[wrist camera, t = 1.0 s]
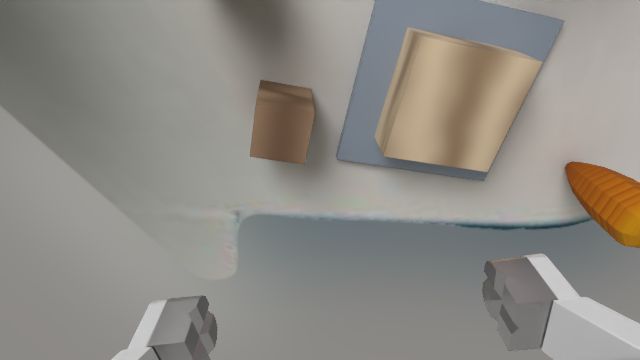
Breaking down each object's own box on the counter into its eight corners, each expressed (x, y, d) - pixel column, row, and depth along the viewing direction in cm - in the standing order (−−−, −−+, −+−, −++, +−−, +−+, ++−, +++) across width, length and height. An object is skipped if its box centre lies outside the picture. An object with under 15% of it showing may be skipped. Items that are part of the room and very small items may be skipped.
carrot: (548, 148, 39) (676, 246, 26) (596, 139, 38) (748, 233, 26) (541, 187, 41) (654, 293, 29) (586, 179, 41) (719, 282, 28)
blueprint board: (335, 155, 37) (336, 159, 37) (381, -23, 29) (383, -22, 28) (480, 176, 40) (483, 180, 39) (558, 19, 32) (564, 20, 31)
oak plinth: (372, 133, 36) (383, 156, 32) (404, 25, 31) (422, 36, 27) (466, 148, 38) (487, 171, 34) (511, 48, 33) (542, 62, 29)
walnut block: (255, 126, 35) (249, 156, 30) (260, 79, 33) (255, 104, 28) (302, 133, 36) (304, 164, 31) (310, 88, 34) (314, 113, 28)
